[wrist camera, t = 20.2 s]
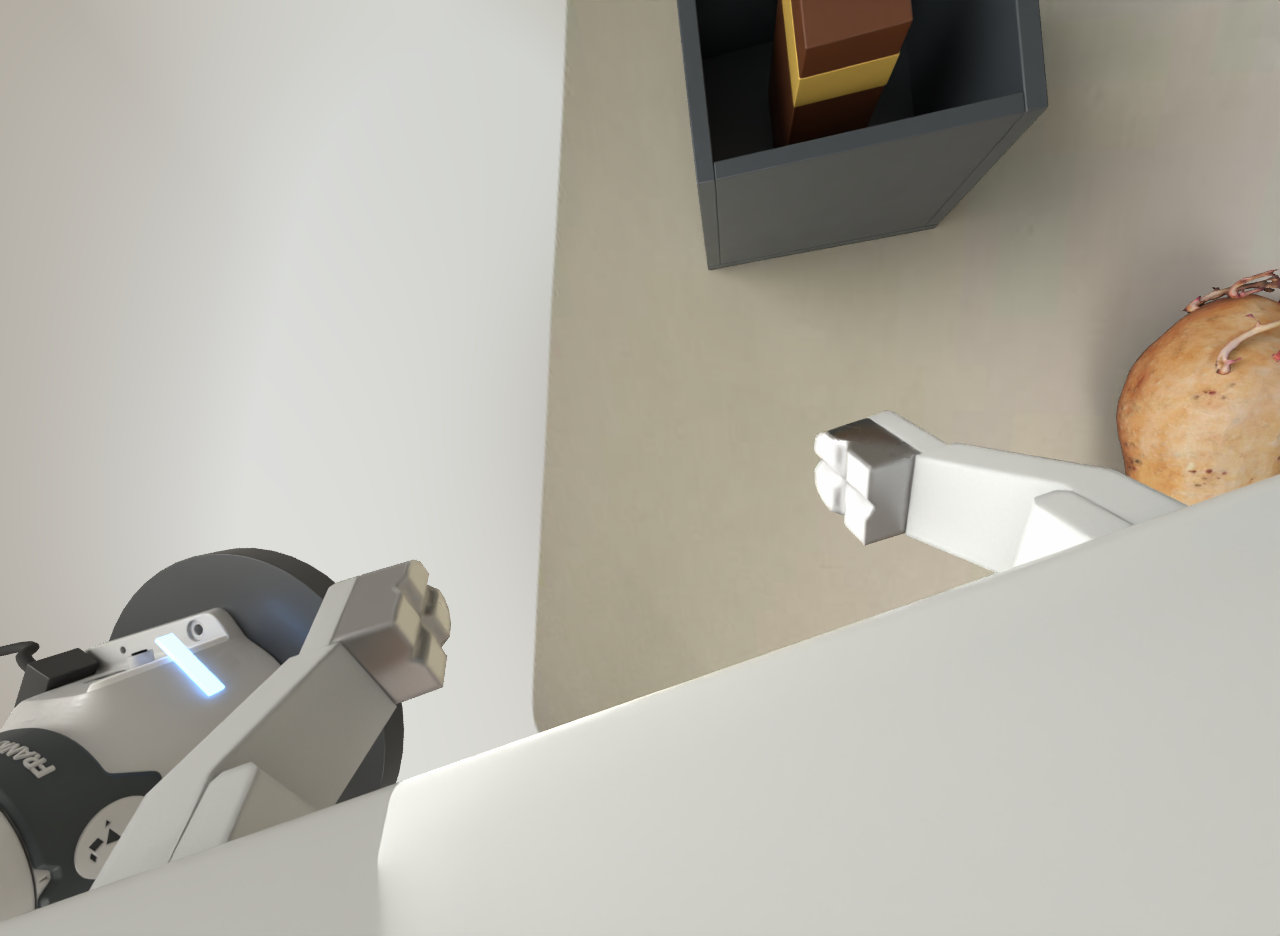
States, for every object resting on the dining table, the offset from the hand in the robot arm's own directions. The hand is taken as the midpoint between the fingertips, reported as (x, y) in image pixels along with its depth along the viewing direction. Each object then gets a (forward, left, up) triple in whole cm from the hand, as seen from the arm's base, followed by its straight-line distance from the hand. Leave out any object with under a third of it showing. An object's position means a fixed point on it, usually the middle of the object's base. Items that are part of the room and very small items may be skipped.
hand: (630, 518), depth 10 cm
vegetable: (+28, -1, -23) cm, 36 cm away
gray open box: (+9, +20, -23) cm, 31 cm away
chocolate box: (+9, +20, -22) cm, 31 cm away
